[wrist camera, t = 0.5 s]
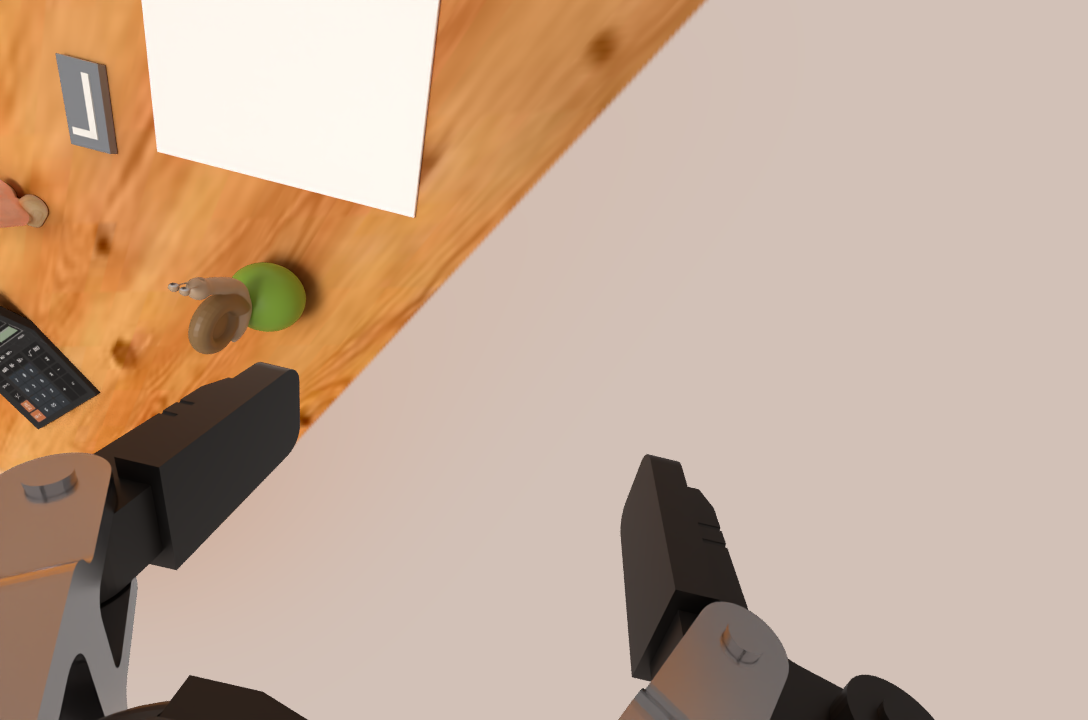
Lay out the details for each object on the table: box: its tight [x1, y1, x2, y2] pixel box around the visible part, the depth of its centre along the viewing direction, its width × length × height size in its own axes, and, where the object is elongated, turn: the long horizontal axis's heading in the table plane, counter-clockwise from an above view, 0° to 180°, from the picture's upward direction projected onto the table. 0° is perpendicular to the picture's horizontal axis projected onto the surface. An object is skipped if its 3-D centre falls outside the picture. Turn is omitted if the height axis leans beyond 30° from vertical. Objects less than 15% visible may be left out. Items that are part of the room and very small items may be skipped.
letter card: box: [56, 53, 117, 154], centre depth 35 cm, size 6×3×1 cm, turn 167°
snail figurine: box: [168, 262, 306, 354], centre depth 34 cm, size 5×6×12 cm
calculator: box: [0, 306, 100, 429], centre depth 44 cm, size 9×12×3 cm
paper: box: [142, 0, 440, 218], centre depth 32 cm, size 18×20×1 cm
